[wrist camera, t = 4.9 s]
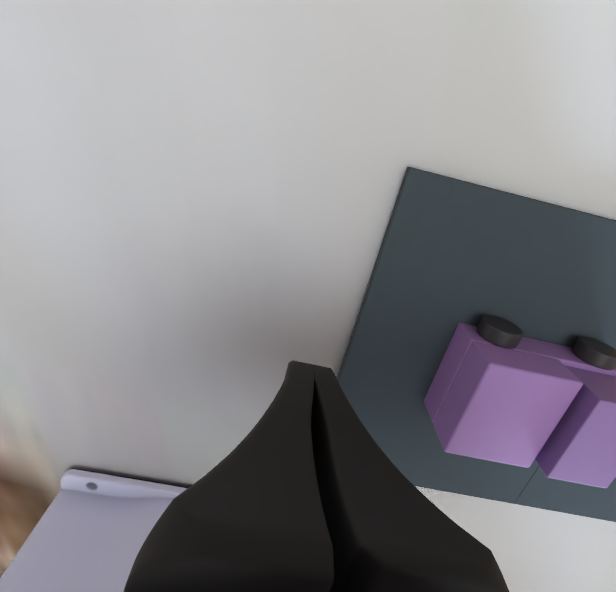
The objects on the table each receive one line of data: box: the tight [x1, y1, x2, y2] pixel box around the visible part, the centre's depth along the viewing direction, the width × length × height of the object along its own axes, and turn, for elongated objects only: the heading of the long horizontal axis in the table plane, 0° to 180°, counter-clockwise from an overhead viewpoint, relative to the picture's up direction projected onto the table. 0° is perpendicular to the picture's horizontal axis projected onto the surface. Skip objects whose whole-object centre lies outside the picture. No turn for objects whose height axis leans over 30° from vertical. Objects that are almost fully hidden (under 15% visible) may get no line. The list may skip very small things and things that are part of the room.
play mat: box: [337, 167, 616, 522], centre depth 17 cm, size 21×14×1 cm, turn 76°
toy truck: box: [424, 315, 616, 488], centre depth 15 cm, size 6×5×3 cm
